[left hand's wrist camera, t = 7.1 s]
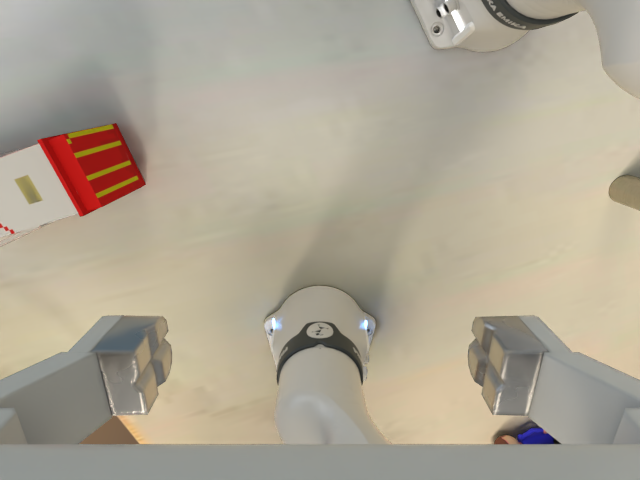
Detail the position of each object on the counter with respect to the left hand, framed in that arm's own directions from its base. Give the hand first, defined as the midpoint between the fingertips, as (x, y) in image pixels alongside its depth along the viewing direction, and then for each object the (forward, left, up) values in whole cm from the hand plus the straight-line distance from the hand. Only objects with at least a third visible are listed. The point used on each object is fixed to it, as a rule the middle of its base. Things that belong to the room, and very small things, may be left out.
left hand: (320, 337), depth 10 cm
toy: (-7, +40, -48) cm, 63 cm away
